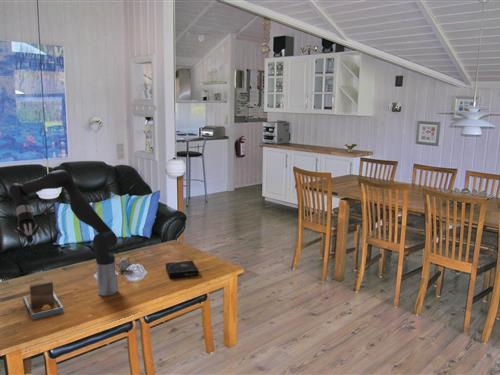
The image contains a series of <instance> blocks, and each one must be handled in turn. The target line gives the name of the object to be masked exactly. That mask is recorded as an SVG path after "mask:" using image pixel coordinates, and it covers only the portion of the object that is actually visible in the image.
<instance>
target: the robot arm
mask: <svg viewBox="0 0 500 375" xmlns="http://www.w3.org/2000/svg"><path fill="white" fill-rule="evenodd" d="M61 188H63V189H64V190H65V191H66V193H67V194H68V196H69V207H70V210H71V212H72V213H73V215H75V217H76V218H77V219H78V220H79V221H80V222H82V223H84V224H85V225H87V226H89V227H91V228H92V229H94V230H95V232H97V234H95V235H94V237H93V240H92V246H93V252H94V253H93V255H94V258H95V260H96V275H97V276H96V277H97V293H98V295H99V296H102V297H108V296H113V295H115V294H116V293H118V291H119V281H118V274H117V273H116V258H115V255H114V254H113V253H109V252H110V251H109V249H112V248H114V247H116V246H117V244H118V237H117V235H116V233H115V232H114V231H113V229H111V227H110V226H108V225H107V223H105V221H104V220H103V219H102V218H101V217H100V215H99V214H98V212H96V211H95V209H94V208H93V206H92V205H91V204H90V202H89V201H88V199H87V198H85V196H84V194H83V193H82V192H81V190H80V189H79V188H78V186H77V185H76V184H75V180H73V178H72V177H71V175H70V174H69V172H68V171H66V170H64V169H59V170H58V169H57V170H53V171H51V172H48V173H46V174H45V175H43V176H42V177H39V178H36V179H31V180H28V181H25V182H24V183H23V184H21V183H17V182H16V183H12V184H11V185H10V186H9V190H8V192H9V195H10V197H11V199H12V201H13V202H14V204H15V209H16V211H15V212H16V217H17V223H18V225H17V227H15V228H14V232H15V233H16V234H18V235H19V236H20V237H22V238H26V243H28V244H33V241H34V238H33V236H36V235H37V233H38V232H39V230H40V229H41V225H40V224H37V223H36V221H35V219H34V216H33V215H34V214H33V211H32V207H31V204H30V200H29V198H28V197H29V196H31V195H33V194H35V193H39V192H41V191H43V190H50V189H52V190H53V189H56V190H57V189H61Z"/></svg>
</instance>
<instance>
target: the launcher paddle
mask: <svg viewBox="0 0 500 375" xmlns="http://www.w3.org/2000/svg"><path fill="white" fill-rule="evenodd" d="M53 283H54V282H53V281H52V280H46V281H41V282H37V283H31V284H29V285H28V286H29V294H30V306H31V309H33V308H38V307H43V306H44V305H52V304H54V303H55V300H54V294H53V291H54V284H53Z"/></svg>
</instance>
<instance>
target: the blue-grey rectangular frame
mask: <svg viewBox="0 0 500 375" xmlns="http://www.w3.org/2000/svg"><path fill="white" fill-rule="evenodd" d="M56 305H57V307H56V308H51V310H47V311H43V312H42V311H39V312H35V313H34V311H33V308H32V306H31V305H30V306H28V308H29V311H28V312H29V314H30V317H31V319H32V321H33V320H37V319H41V318H45V317H49V316H53V315H58V314H61V313H64V306H63V305H62V303H61V302H60V300H59V298H58V299H57V303H56Z"/></svg>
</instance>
